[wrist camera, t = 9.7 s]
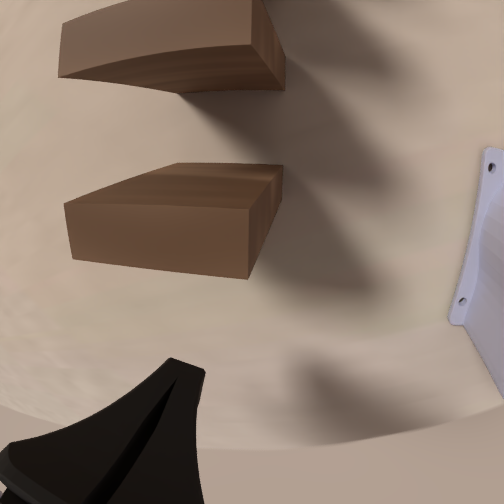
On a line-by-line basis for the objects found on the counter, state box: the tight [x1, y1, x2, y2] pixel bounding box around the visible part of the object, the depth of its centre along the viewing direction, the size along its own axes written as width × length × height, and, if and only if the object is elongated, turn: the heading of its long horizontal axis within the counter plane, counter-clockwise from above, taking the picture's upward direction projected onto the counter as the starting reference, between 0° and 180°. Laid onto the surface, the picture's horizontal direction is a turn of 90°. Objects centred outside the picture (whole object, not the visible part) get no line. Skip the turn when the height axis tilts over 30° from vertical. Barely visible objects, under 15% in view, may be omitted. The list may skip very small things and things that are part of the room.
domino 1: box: [58, 0, 285, 94], centre depth 9 cm, size 2×5×8 cm, turn 89°
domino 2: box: [64, 163, 283, 280], centre depth 11 cm, size 2×5×8 cm, turn 89°
